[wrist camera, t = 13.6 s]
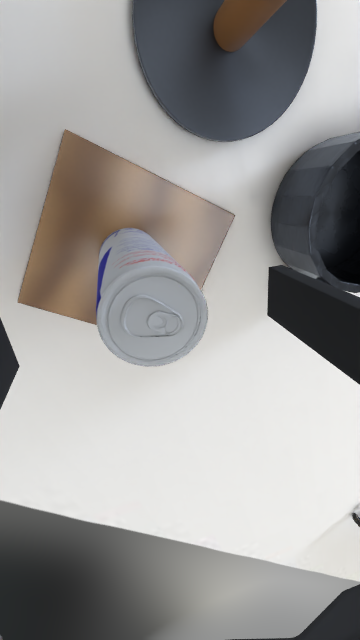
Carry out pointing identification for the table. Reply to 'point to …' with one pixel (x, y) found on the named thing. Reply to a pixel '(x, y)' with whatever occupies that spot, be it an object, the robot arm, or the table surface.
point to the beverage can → (146, 301)
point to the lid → (225, 60)
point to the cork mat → (111, 226)
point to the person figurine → (356, 519)
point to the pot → (322, 213)
